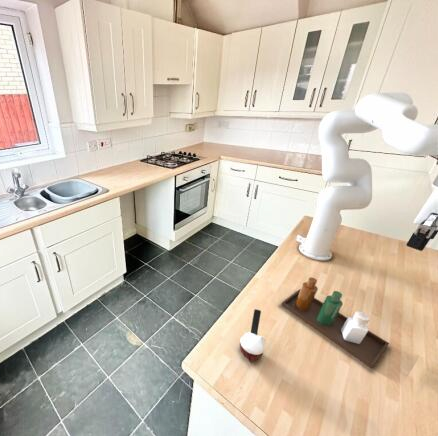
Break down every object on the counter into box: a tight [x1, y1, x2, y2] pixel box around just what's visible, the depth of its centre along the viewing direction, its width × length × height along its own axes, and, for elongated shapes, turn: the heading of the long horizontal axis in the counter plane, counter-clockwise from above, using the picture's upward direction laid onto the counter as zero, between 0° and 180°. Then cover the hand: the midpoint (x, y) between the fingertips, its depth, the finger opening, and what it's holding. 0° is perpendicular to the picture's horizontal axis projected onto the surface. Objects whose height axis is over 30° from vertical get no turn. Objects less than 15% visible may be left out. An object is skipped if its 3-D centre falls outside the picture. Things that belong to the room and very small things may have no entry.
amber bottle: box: [295, 276, 319, 311], centre depth 80 cm, size 4×4×12 cm
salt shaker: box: [341, 310, 371, 344], centre depth 70 cm, size 4×4×10 cm
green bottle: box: [317, 290, 344, 326], centre depth 74 cm, size 4×4×12 cm
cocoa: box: [239, 308, 265, 364], centre depth 66 cm, size 10×6×12 cm, turn 136°
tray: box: [280, 288, 390, 369], centre depth 76 cm, size 25×11×2 cm, turn 33°
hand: (419, 242), depth 67 cm, fingers open, 9 cm apart
